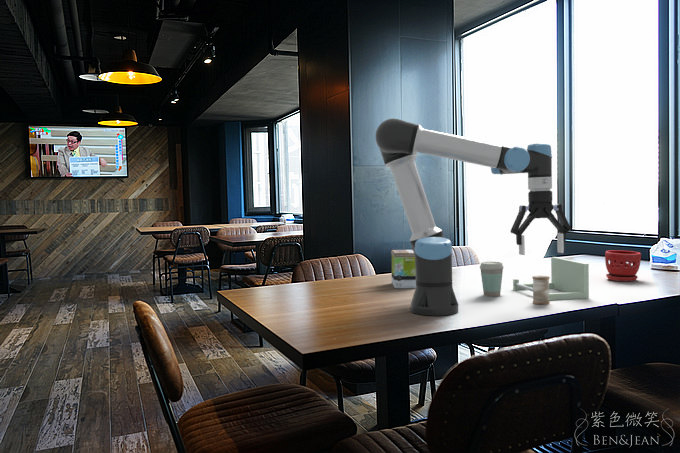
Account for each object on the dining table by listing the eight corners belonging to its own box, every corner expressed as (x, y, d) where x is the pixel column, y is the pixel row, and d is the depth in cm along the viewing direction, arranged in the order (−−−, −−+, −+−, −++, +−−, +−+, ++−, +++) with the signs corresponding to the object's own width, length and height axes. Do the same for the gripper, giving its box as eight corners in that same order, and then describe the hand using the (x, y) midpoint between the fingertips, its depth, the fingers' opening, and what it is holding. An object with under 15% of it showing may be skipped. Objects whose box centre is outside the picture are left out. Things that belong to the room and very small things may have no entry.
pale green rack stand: (541, 300, 185) (541, 265, 184) (513, 289, 208) (512, 258, 207) (588, 297, 187) (588, 263, 186) (555, 287, 210) (555, 256, 209)
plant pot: (611, 282, 217) (611, 253, 216) (601, 277, 230) (600, 250, 229) (646, 282, 215) (646, 252, 214) (633, 277, 228) (633, 249, 227)
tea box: (419, 288, 217) (418, 252, 216) (394, 289, 217) (393, 252, 216) (414, 282, 232) (413, 248, 231) (391, 283, 232) (390, 249, 231)
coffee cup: (505, 297, 192) (504, 264, 191) (480, 297, 194) (480, 264, 193) (502, 293, 200) (502, 261, 200) (479, 293, 202) (478, 261, 202)
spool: (537, 305, 177) (536, 278, 177) (529, 302, 183) (529, 275, 182) (552, 304, 178) (552, 277, 177) (544, 301, 183) (544, 275, 183)
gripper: (508, 191, 173) (510, 256, 174) (581, 188, 176) (582, 252, 177) (499, 191, 181) (501, 254, 182) (569, 189, 183) (570, 250, 184)
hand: (541, 253), depth 179 cm, fingers open, 13 cm apart
